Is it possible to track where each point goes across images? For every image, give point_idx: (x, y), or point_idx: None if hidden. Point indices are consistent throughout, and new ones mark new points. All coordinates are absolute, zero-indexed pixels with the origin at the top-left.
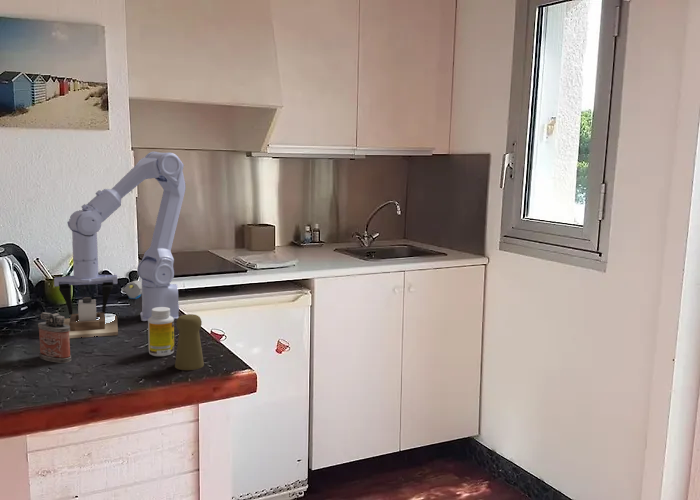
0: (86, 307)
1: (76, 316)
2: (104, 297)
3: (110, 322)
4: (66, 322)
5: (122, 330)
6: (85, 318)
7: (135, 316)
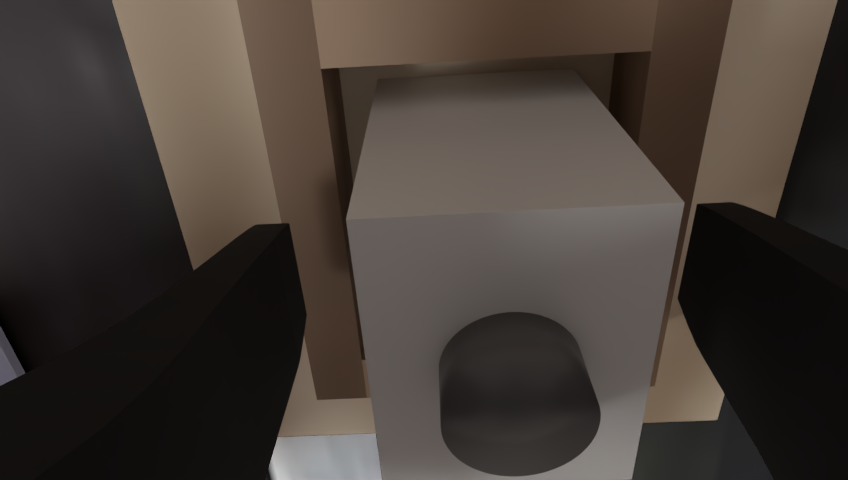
0: (515, 178)
1: None
2: (144, 347)
3: None
4: (677, 314)
5: (84, 18)
6: (511, 112)
7: None
